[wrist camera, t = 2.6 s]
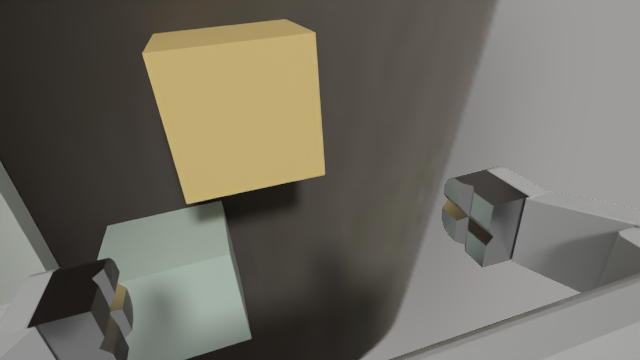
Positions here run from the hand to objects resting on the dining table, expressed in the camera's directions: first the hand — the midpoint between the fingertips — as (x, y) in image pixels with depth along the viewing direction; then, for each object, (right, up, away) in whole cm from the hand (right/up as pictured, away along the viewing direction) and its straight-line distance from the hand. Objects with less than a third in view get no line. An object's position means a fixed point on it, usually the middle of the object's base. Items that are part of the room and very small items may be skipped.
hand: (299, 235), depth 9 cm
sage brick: (-8, -3, +13) cm, 15 cm away
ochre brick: (-4, +6, +10) cm, 12 cm away
